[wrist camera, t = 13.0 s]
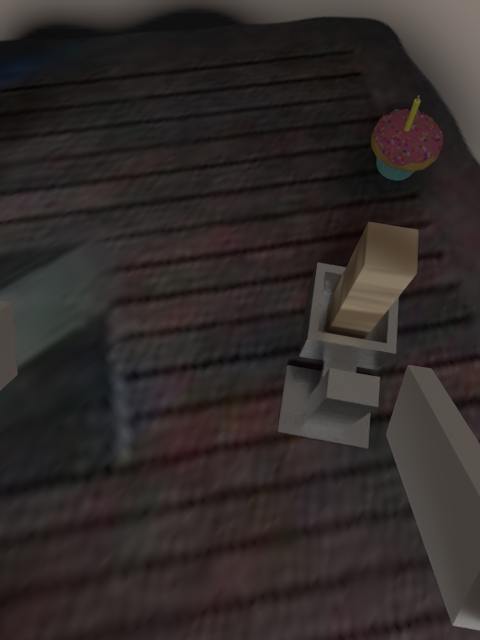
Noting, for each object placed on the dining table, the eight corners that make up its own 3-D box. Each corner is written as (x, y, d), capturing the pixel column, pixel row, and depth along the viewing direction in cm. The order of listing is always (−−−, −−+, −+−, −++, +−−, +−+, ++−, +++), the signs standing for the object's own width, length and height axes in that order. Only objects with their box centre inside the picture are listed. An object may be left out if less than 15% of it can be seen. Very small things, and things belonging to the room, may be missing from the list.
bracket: (365, 449, 45) (410, 429, 34) (276, 432, 46) (292, 408, 35) (374, 319, 51) (415, 266, 40) (295, 306, 51) (313, 249, 40)
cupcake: (396, 203, 57) (436, 129, 46) (347, 162, 60) (375, 82, 48) (440, 168, 59) (488, 90, 48) (391, 130, 62) (427, 47, 51)
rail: (360, 344, 43) (416, 273, 30) (324, 337, 43) (364, 264, 31) (363, 310, 45) (418, 229, 32) (328, 304, 45) (368, 221, 32)
